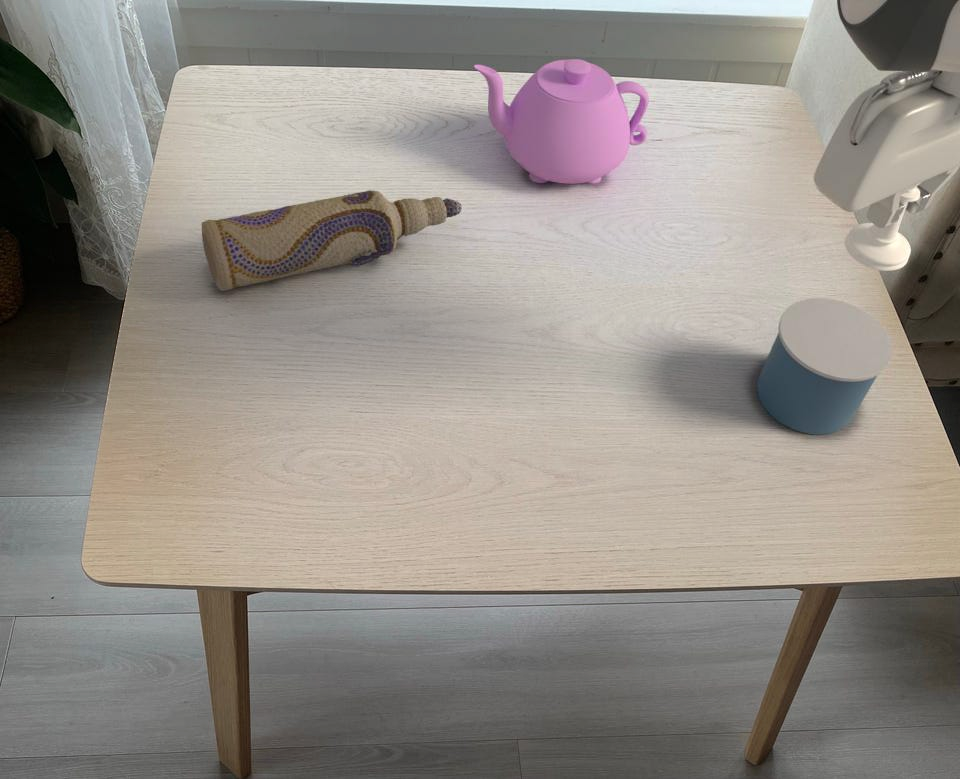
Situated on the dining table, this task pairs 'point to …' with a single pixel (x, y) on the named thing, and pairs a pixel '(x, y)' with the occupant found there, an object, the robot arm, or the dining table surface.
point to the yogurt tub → (822, 365)
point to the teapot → (567, 121)
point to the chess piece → (881, 241)
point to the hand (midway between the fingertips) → (895, 214)
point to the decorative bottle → (314, 235)
